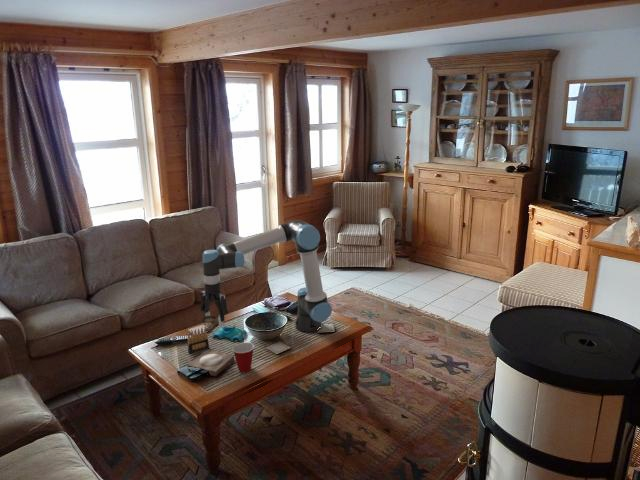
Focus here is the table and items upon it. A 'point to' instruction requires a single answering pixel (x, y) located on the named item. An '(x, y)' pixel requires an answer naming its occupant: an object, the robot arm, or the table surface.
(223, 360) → the plinth
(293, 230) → the robot arm
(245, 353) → the plastic cup
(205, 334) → the ammunition clip
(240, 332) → the toy car
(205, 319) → the eagle figurine
